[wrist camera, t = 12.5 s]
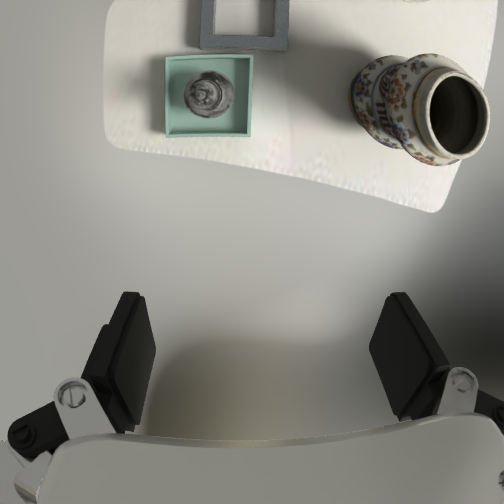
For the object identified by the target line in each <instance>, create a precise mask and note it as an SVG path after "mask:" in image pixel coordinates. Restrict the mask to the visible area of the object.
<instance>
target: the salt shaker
mask: <svg viewBox="0 0 504 504" xmlns="http://www.w3.org/2000/svg"><path fill="white" fill-rule="evenodd" d="M234 95H235V92H234V87H233V84H232V82H231V81H230V79H229V78H228V77H227V76H225V75H224V74H223V73H220V72H218V71H212V70H207V71H202V72H200V73H197V74H195V75H194V76H193V77H192V78H190V80H189V81H188V82H187V84H186V86H185V89H184V95H183V96H184V102H185V104H186V106H187V108H188V109H189V110H190V112H191V113H193V114H194V115H196V116H198V117H201V118H208V119H210V118H216V117H218V116H221V115H222V114H224V113H225V112H226V111H227V110H228V109H229V108H230V107H231V105H232V103H233V101H234Z"/></svg>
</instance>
